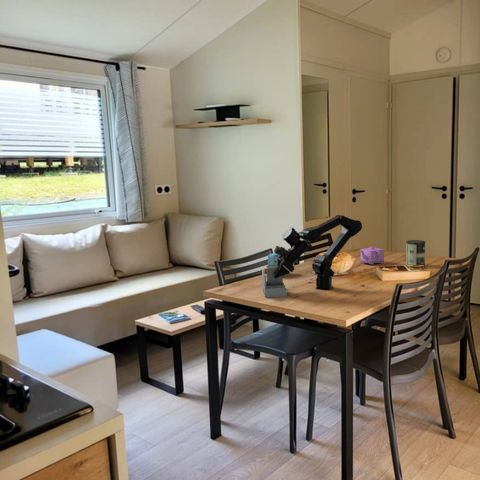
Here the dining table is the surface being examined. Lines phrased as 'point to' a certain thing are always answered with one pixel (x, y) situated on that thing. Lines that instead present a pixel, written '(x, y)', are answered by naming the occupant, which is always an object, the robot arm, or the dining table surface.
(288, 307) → the dining table surface
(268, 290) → the rack
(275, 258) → the data package
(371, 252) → the purple box
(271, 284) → the grey rectangular block
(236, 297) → the dining table surface
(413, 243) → the coffee can
